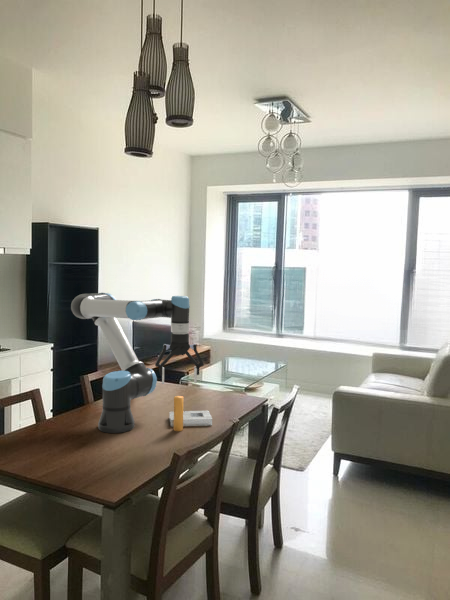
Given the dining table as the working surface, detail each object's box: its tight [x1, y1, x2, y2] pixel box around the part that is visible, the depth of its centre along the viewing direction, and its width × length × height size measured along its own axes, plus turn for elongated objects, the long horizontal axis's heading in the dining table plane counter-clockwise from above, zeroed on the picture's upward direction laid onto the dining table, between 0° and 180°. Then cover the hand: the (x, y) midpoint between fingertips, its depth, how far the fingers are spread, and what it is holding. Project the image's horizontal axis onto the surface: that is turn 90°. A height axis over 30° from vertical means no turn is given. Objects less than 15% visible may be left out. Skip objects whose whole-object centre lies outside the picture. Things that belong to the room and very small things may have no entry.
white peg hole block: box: [168, 409, 213, 428], centre depth 213 cm, size 18×12×3 cm, turn 99°
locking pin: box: [173, 395, 185, 432], centre depth 202 cm, size 4×4×14 cm
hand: (179, 382), depth 201 cm, fingers open, 13 cm apart
